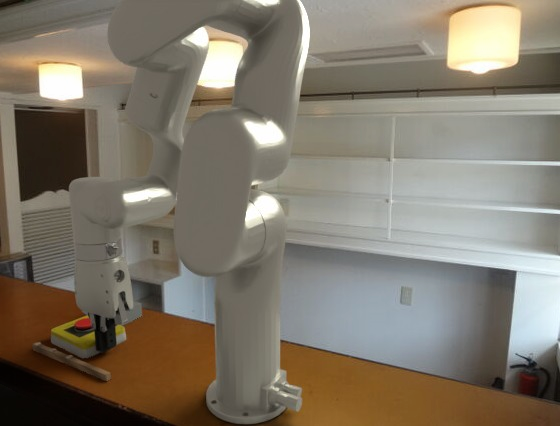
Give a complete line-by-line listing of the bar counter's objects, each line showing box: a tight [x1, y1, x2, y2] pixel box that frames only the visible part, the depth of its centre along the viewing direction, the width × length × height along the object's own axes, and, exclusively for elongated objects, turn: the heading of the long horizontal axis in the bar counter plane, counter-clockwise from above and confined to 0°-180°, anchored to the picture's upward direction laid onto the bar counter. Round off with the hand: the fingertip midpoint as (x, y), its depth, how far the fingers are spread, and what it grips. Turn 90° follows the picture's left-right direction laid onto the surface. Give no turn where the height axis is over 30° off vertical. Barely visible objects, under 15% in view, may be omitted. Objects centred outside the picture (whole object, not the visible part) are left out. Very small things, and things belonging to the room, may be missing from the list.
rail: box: [32, 341, 112, 382], centre depth 76 cm, size 20×1×1 cm, turn 60°
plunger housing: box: [84, 300, 143, 326], centre depth 93 cm, size 8×8×3 cm
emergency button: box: [50, 315, 127, 359], centre depth 84 cm, size 9×4×15 cm
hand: (106, 348), depth 79 cm, fingers closed
